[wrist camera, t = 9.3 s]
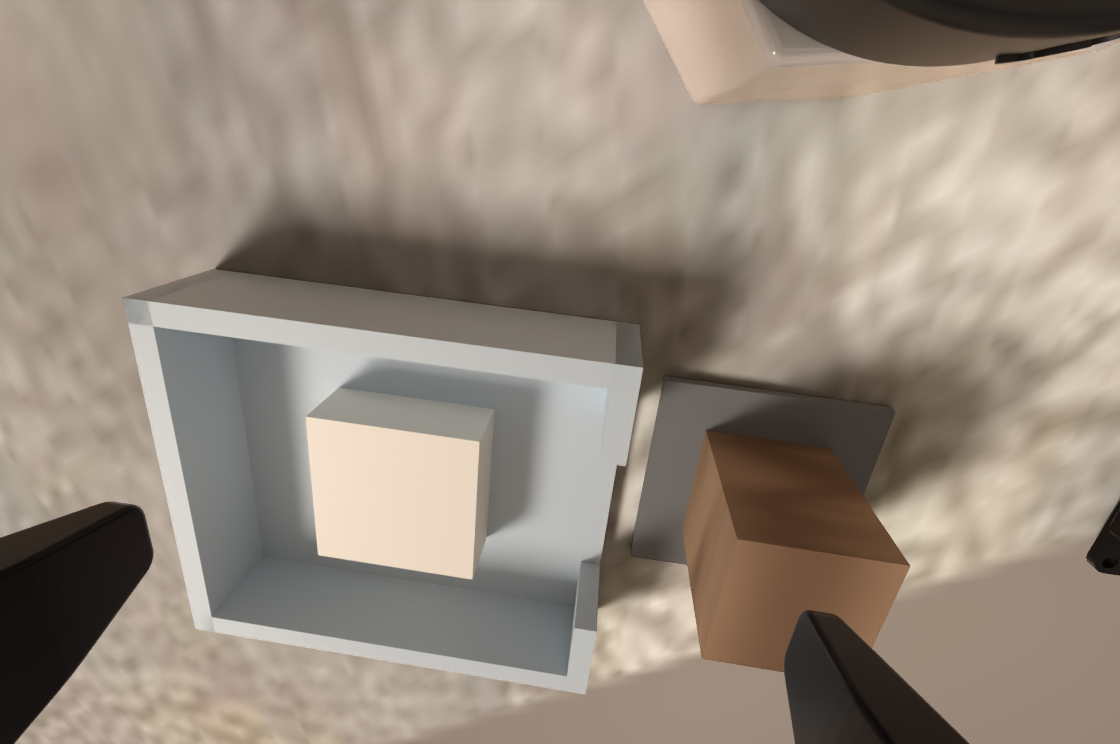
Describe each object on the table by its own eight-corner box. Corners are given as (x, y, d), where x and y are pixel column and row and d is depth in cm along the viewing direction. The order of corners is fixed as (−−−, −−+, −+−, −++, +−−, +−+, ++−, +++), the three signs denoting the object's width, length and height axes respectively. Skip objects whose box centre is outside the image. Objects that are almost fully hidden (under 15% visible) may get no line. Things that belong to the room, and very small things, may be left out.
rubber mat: (890, 406, 19) (895, 411, 19) (824, 579, 23) (827, 586, 22) (664, 376, 20) (665, 380, 20) (630, 549, 23) (630, 555, 23)
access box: (639, 324, 19) (643, 367, 16) (590, 611, 25) (585, 694, 21) (213, 268, 20) (122, 297, 16) (256, 558, 26) (195, 628, 22)
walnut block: (830, 448, 20) (910, 565, 14) (796, 546, 22) (855, 684, 16) (705, 430, 20) (737, 539, 15) (681, 528, 22) (701, 658, 16)
